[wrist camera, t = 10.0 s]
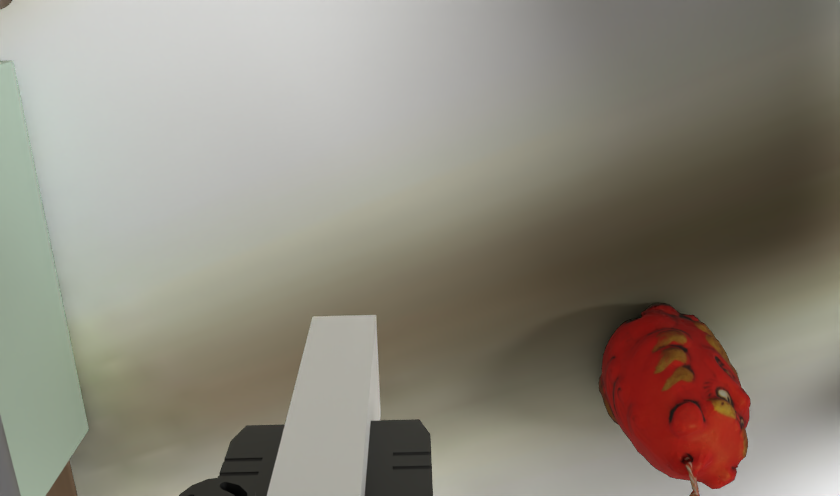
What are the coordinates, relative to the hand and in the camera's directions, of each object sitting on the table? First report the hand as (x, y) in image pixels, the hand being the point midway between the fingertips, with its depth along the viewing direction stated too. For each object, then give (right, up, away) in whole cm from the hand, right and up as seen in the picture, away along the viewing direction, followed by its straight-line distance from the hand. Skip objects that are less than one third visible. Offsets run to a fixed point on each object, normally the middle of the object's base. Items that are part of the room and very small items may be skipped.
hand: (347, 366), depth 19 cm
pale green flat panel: (-18, +2, +22) cm, 29 cm away
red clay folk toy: (+15, -3, +26) cm, 30 cm away
